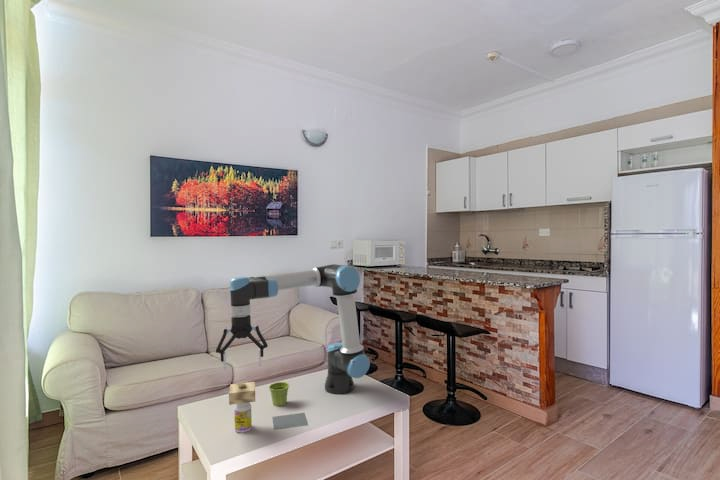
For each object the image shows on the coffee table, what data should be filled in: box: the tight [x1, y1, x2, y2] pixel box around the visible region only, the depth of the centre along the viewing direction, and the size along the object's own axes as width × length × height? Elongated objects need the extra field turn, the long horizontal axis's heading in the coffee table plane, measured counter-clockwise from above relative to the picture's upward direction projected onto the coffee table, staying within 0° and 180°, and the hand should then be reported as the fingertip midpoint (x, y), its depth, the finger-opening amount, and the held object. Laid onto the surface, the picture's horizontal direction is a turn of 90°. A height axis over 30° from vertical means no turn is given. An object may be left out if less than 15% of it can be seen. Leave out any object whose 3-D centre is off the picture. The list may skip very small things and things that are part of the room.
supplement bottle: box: [234, 402, 253, 433], centre depth 162 cm, size 7×7×13 cm
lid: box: [228, 381, 256, 406], centre depth 162 cm, size 10×10×5 cm
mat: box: [271, 412, 309, 431], centre depth 168 cm, size 14×12×1 cm
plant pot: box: [268, 381, 290, 407], centre depth 186 cm, size 9×9×9 cm
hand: (242, 366), depth 162 cm, fingers open, 13 cm apart
